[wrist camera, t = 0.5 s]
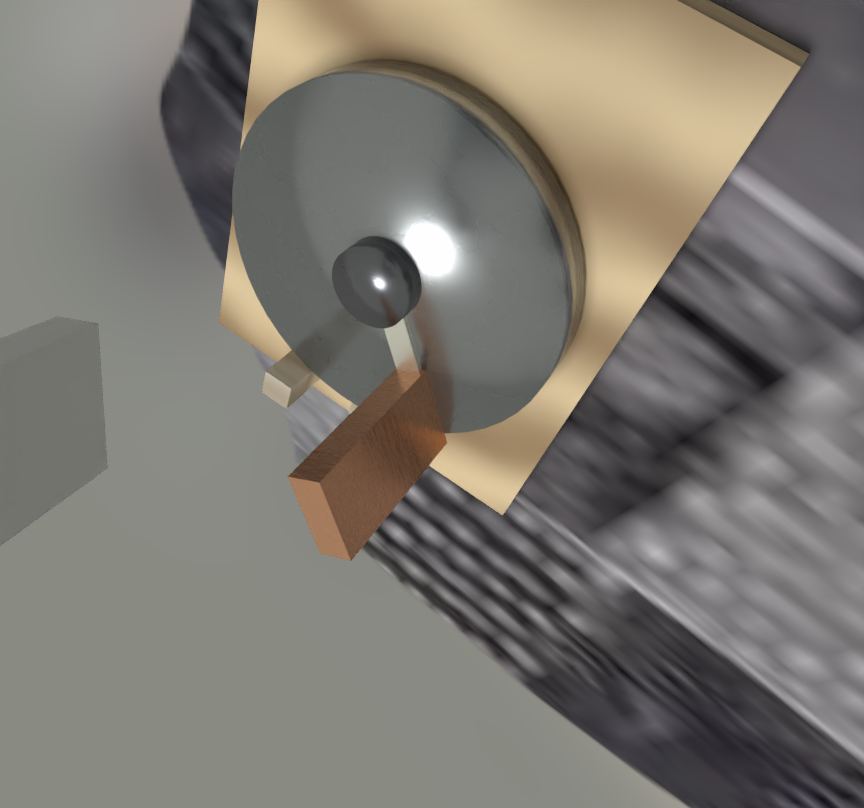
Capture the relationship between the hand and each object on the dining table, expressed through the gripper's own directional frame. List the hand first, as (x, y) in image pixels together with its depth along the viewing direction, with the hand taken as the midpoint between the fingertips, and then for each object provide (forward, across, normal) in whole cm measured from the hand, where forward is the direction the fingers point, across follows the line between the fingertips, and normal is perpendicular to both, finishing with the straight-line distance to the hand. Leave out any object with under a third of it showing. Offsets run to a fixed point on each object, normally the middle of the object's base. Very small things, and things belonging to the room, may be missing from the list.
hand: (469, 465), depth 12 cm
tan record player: (+23, -6, 0) cm, 24 cm away
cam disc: (+22, -6, -2) cm, 23 cm away
